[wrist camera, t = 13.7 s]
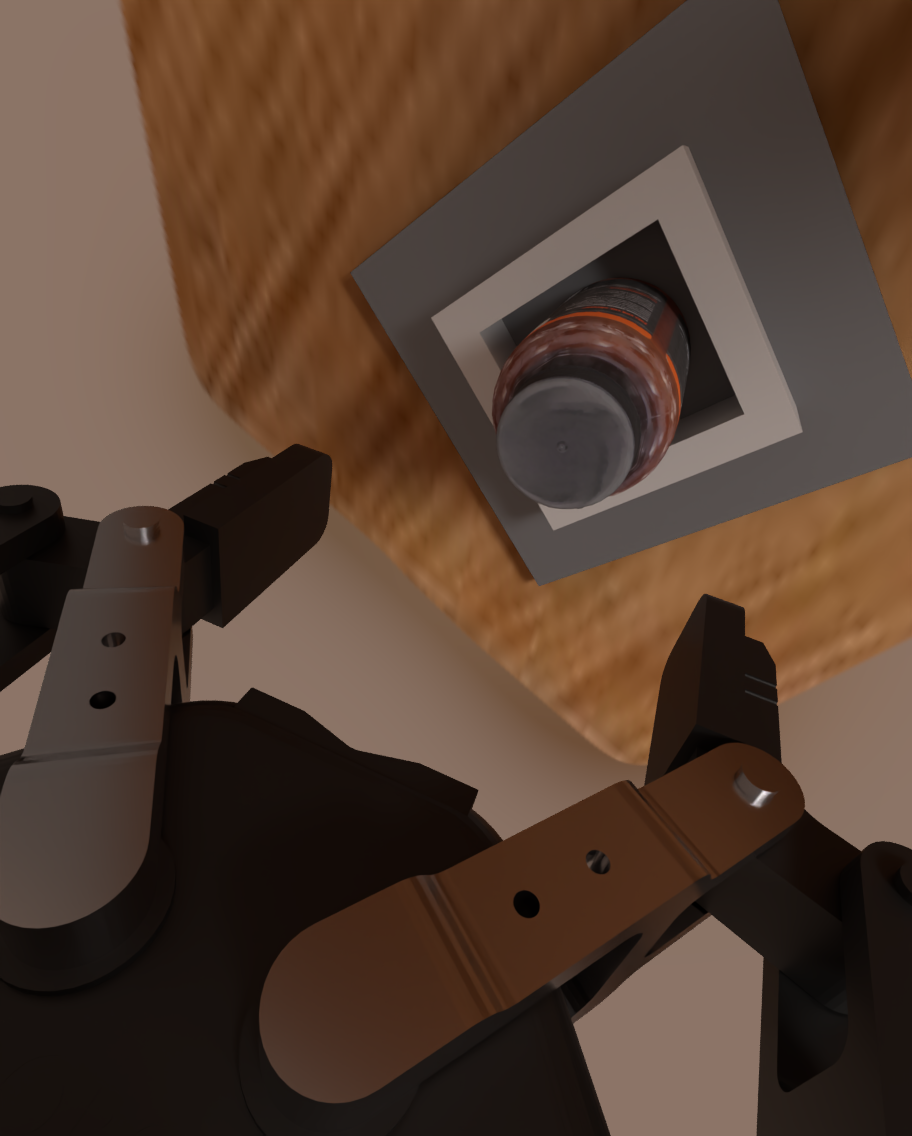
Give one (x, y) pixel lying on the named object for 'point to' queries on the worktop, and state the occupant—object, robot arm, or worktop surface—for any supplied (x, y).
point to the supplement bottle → (593, 394)
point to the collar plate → (664, 283)
